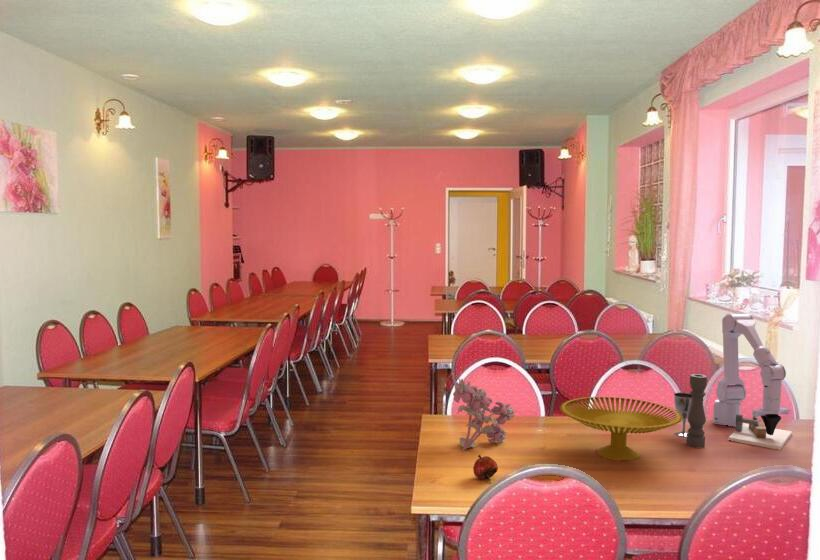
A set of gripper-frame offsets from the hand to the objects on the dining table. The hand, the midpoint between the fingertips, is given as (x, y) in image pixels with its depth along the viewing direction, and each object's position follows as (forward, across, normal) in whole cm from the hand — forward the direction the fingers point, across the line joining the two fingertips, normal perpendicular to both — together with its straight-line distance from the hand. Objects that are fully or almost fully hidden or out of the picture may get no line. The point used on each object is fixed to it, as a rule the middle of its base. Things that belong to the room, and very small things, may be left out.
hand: (769, 434), depth 259 cm
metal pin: (-2, +3, +11) cm, 12 cm away
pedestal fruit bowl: (+3, -62, 0) cm, 62 cm away
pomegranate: (+3, -115, -12) cm, 115 cm away
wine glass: (+3, -26, +14) cm, 30 cm away
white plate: (+2, 0, +4) cm, 5 cm away
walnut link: (+1, 0, +6) cm, 7 cm away
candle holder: (+3, -30, +2) cm, 30 cm away
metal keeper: (+1, -3, +8) cm, 9 cm away
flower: (+3, -103, +20) cm, 105 cm away
